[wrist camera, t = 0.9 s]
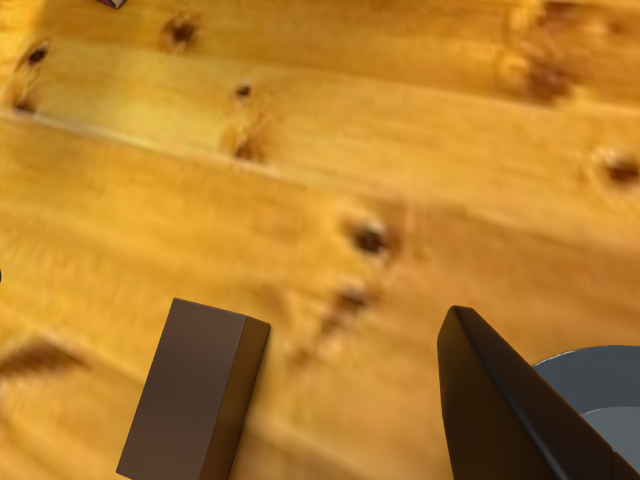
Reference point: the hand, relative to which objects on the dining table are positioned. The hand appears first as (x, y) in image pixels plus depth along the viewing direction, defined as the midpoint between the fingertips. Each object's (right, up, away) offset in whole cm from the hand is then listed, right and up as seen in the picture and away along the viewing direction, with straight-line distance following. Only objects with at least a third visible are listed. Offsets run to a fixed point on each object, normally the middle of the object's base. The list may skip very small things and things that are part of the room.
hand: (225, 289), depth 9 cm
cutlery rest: (-5, -9, +20) cm, 22 cm away
